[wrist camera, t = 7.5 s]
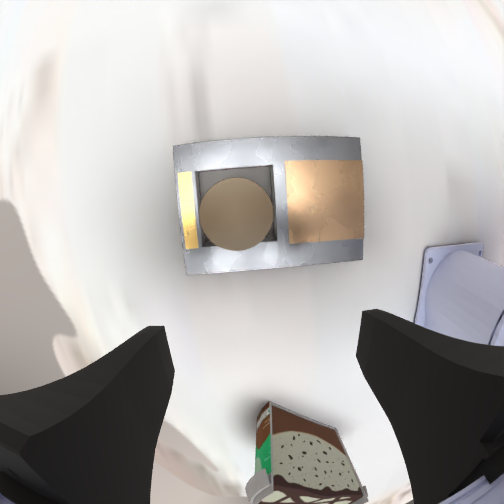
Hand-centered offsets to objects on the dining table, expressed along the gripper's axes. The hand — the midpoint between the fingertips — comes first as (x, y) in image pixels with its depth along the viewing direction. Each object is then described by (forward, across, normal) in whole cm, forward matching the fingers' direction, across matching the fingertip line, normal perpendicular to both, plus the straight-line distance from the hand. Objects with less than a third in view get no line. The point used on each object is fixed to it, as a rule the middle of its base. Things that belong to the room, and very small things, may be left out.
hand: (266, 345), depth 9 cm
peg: (+10, +1, -4) cm, 11 cm away
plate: (+10, -2, -4) cm, 11 cm away
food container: (+10, -2, +18) cm, 21 cm away
